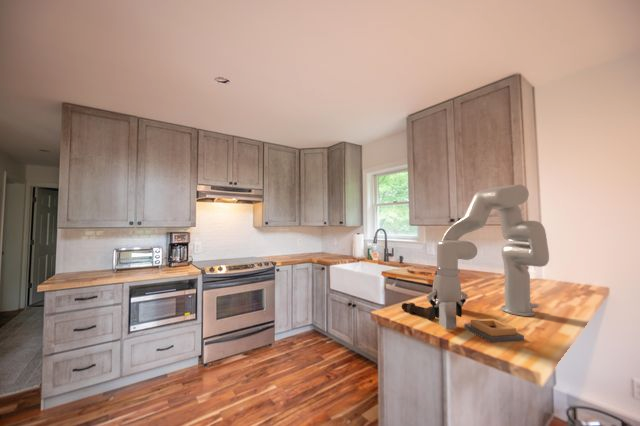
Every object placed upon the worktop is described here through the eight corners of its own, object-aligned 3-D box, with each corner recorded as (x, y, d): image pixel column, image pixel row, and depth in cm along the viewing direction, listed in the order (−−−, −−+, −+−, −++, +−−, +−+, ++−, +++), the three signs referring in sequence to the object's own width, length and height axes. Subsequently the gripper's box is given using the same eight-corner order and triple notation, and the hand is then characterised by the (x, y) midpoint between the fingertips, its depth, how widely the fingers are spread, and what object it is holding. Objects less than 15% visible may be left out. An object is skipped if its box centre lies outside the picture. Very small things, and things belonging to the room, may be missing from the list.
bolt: (404, 314, 125) (434, 322, 112) (398, 310, 122) (428, 318, 110) (407, 302, 127) (437, 309, 115) (401, 298, 124) (431, 305, 112)
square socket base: (493, 325, 106) (493, 316, 106) (524, 340, 93) (523, 329, 93) (464, 327, 103) (464, 318, 104) (491, 342, 91) (491, 332, 91)
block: (448, 323, 108) (448, 298, 108) (456, 328, 103) (456, 301, 104) (439, 324, 107) (438, 299, 107) (446, 328, 102) (445, 302, 103)
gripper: (460, 270, 111) (460, 312, 110) (422, 271, 108) (421, 313, 107) (473, 274, 104) (473, 318, 103) (433, 274, 101) (432, 320, 100)
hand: (447, 316), depth 105 cm, fingers open, 9 cm apart
